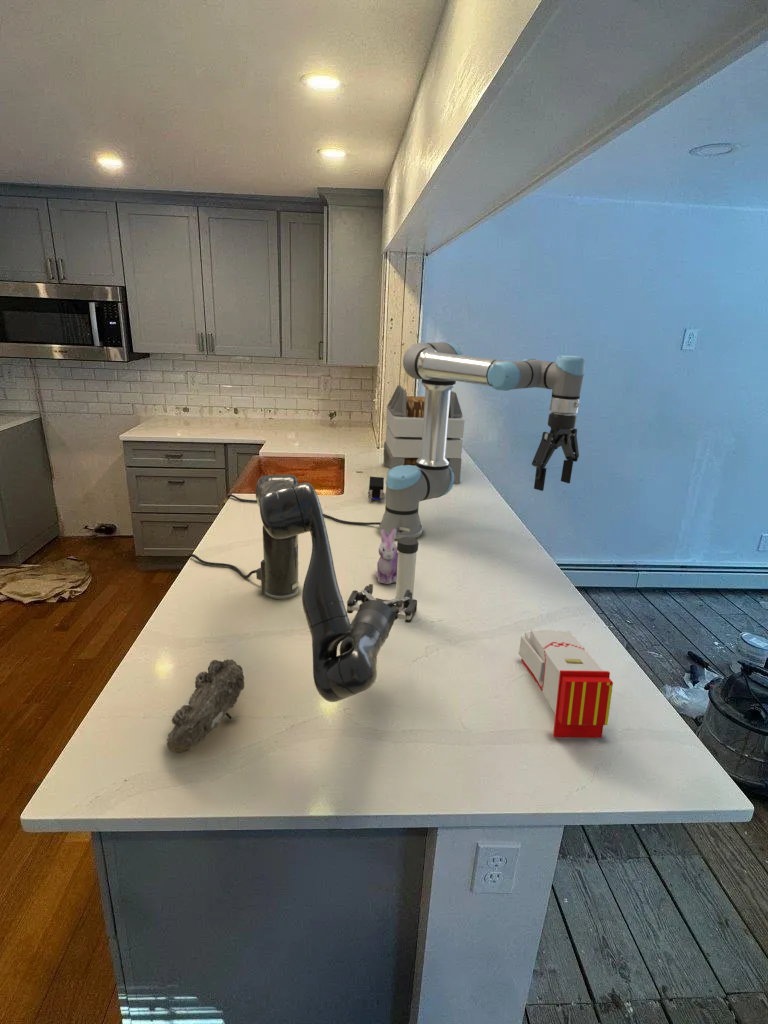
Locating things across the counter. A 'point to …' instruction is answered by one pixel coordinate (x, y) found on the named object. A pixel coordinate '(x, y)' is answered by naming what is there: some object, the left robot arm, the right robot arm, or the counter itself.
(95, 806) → the counter surface
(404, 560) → the jar
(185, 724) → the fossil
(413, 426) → the tiered storage shelf
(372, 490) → the figurine character
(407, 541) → the lid
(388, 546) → the figurine
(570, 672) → the toy
